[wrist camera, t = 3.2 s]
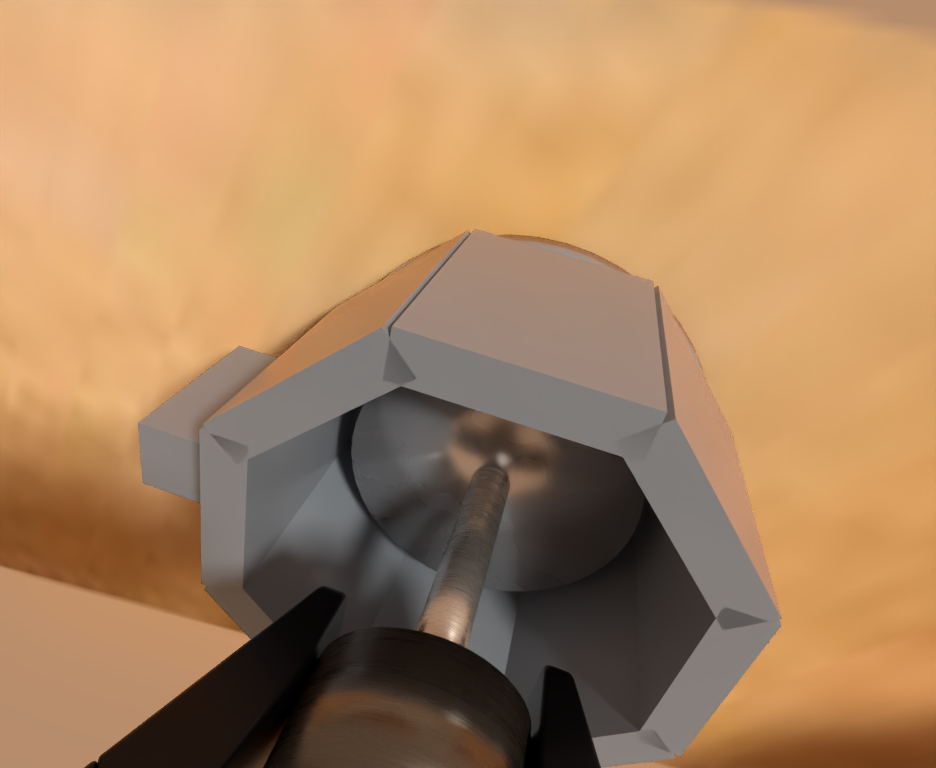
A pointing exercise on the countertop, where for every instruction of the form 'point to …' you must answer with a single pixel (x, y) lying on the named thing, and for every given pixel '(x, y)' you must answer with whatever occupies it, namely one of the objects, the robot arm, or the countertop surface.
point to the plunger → (455, 582)
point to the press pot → (515, 399)
